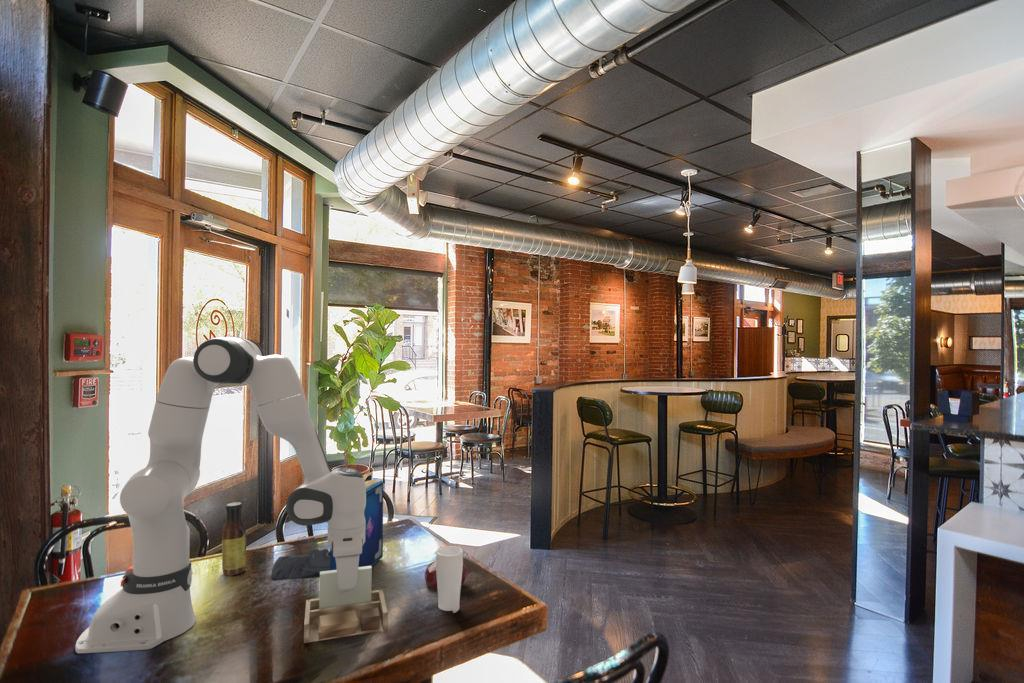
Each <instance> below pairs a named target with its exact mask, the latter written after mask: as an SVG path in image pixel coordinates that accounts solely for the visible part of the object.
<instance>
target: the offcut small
mask: <svg viewBox="0 0 1024 683" xmlns="http://www.w3.org/2000/svg"><path fill="white" fill-rule="evenodd" d="M379 624H380V615H379V610H378V608H372V609H365V610H361V631H368V630H374V629H379Z"/></svg>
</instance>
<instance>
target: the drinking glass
mask: <svg viewBox="0 0 1024 683" xmlns="http://www.w3.org/2000/svg"><path fill="white" fill-rule="evenodd" d="M463 552H464V551H463V549H462V548H461V547H459V546H455V545H450V546H443V547H440V548H437V550H436V554H435V555H436V558H435V560H436V575H437V589H436V590H437V602H438V603H437V604H438V606H437V607H438V609H439V610H441V611H445V612H450V611H452V613H453V614H455V613H457V612H458V611H459V610H460V598H461V590H462V585H461V580H462V570H463V563H464V554H463Z"/></svg>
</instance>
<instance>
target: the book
mask: <svg viewBox="0 0 1024 683" xmlns="http://www.w3.org/2000/svg"><path fill="white" fill-rule="evenodd" d="M364 480H365V487H366V507H365V510H364V516H365V520H366V527H365V543H364V544H363V547H362V554H359V566H358V567H364V566H371V567H372V568H373V567H374V566H375V565H377V563H378V562H379V561H380V560H381V559H382V558H383V557H384V554H383V553H384V546H383V545H384V481H383V480H382V479H381V480H379V481H378V480H375V479H370V480H367V479H366V478H364ZM329 552H330V570H337V568H336V560H335V557H333V553H332V550H331V549H330V548H329Z"/></svg>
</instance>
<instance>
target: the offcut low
mask: <svg viewBox="0 0 1024 683" xmlns="http://www.w3.org/2000/svg"><path fill="white" fill-rule="evenodd" d="M350 634H356V627H352V628H347V629H342V630H336V631H331V632H326V633H321V631H320V623H319V632H318V639H324V638H331V637H337V636H343V635H350Z"/></svg>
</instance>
